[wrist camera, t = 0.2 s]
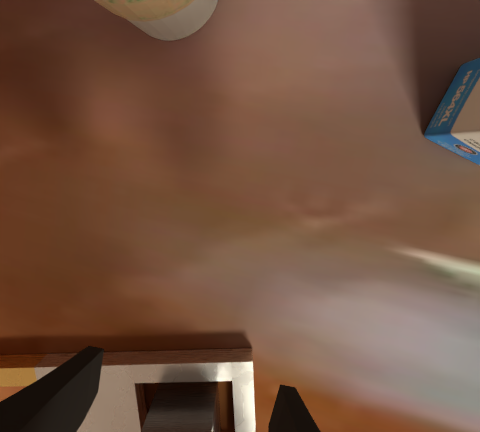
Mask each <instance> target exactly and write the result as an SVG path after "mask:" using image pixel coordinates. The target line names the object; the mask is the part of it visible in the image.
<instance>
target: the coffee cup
mask: <svg viewBox="0 0 480 432" xmlns="http://www.w3.org/2000/svg"><path fill="white" fill-rule="evenodd" d="M94 1H95V2H97V3H98V4H100V5H101V6H103V7H104V8H106V9H107V10H109V11H110V12H112V13H113V14H115V15H117V16H120V17H123V18H125V19H127V20H128V21H129V22H131V23H132V24H134V25H135V26H136V27H138V28H139V29H141V30H142V31H144V32H145V33H147V34H148V35H150V36H151V37H154V38H157V39H159V40H166V41H172V40H179V39H182V38H185V37H187V36H189V35H191V34H193V33H194V32H196V31H197V30H199V29H200V28H201V27H202V26H203V25H204V24H205V23H206V22H207V21H208V19H209V18H210V17H211V15H212V13H213V12H214V10H215V8H216V5H217V2H218V0H94Z"/></svg>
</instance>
